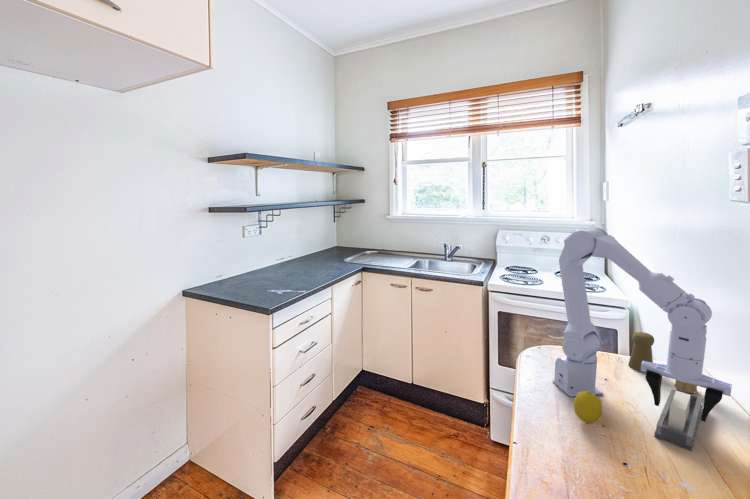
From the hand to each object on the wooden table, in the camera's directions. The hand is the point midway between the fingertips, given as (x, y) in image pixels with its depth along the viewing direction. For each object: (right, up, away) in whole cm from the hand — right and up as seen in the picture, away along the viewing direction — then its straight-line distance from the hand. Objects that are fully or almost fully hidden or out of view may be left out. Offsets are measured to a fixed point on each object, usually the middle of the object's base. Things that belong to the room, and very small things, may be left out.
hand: (679, 411), depth 74 cm
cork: (+13, 0, +27) cm, 30 cm away
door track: (+2, -4, +3) cm, 5 cm away
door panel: (0, -3, 0) cm, 3 cm away
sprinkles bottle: (+16, -2, +15) cm, 22 cm away
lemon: (-19, -5, +3) cm, 20 cm away
